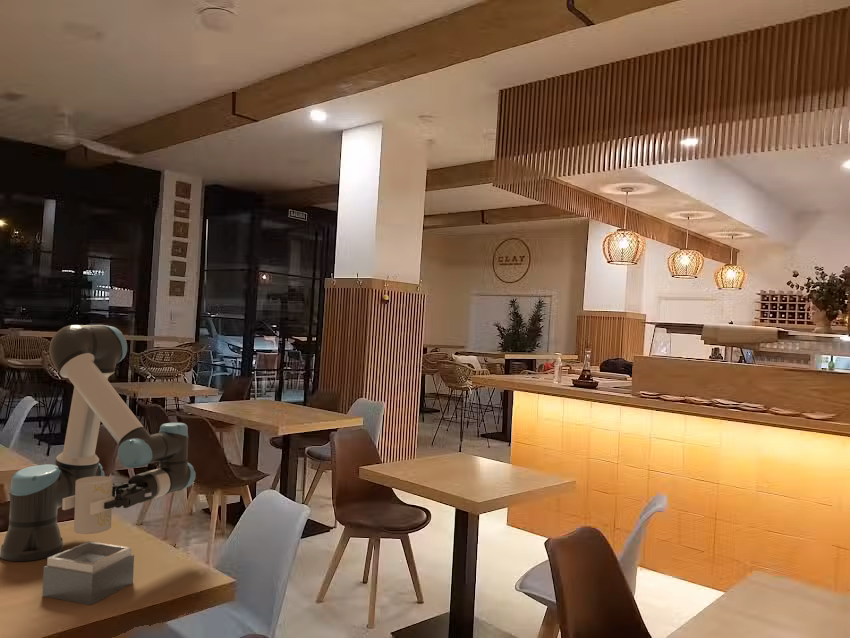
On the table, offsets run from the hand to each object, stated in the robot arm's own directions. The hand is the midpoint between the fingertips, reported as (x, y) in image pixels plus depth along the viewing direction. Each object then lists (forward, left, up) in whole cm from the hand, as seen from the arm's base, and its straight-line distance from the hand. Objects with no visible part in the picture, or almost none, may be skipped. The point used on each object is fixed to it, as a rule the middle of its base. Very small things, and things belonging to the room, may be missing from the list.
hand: (77, 506), depth 157 cm
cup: (+1, +5, -7) cm, 8 cm away
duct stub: (0, +5, -21) cm, 22 cm away
